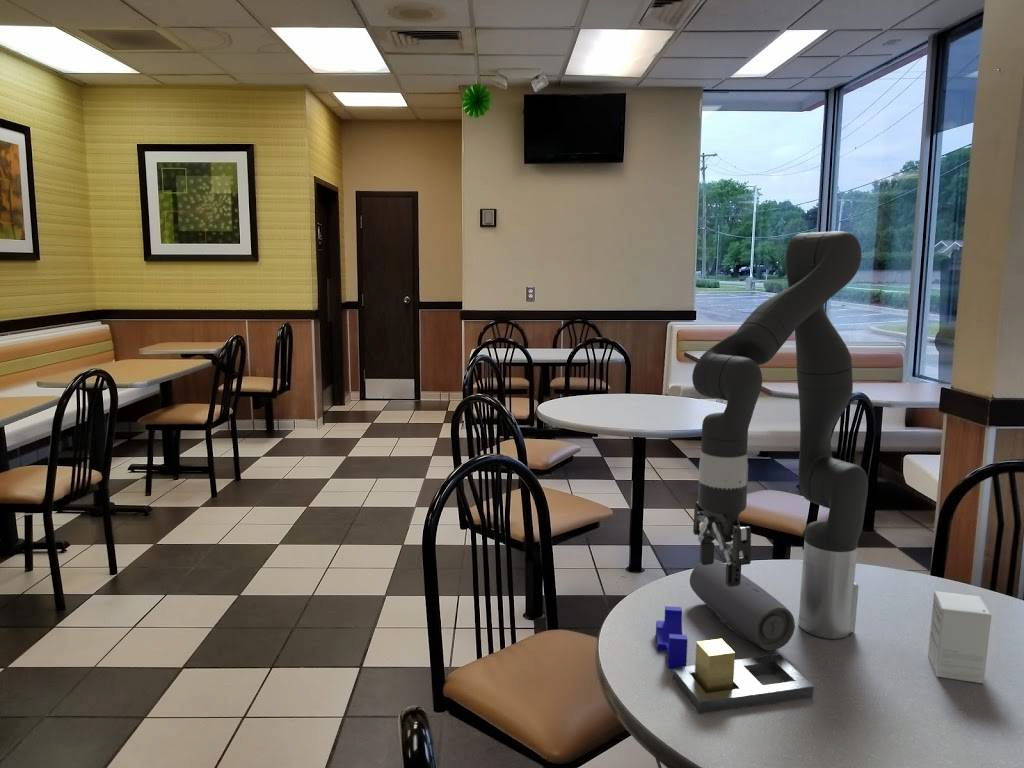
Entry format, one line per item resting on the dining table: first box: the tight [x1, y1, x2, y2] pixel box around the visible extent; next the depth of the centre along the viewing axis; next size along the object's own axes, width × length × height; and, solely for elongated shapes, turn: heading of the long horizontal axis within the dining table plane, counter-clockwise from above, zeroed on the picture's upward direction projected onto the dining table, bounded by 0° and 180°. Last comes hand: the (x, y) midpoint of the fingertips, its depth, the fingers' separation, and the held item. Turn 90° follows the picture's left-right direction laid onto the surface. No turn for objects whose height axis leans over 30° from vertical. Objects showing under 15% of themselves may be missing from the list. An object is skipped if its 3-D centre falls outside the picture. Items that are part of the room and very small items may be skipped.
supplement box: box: [927, 590, 992, 684], centre depth 129 cm, size 7×7×13 cm
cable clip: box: [655, 605, 688, 671], centre depth 136 cm, size 12×4×6 cm, turn 172°
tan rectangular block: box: [694, 638, 736, 693], centre depth 123 cm, size 4×4×8 cm
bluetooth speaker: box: [689, 558, 796, 651], centre depth 144 cm, size 23×9×10 cm, turn 17°
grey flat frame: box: [671, 654, 815, 715], centre depth 125 cm, size 20×10×2 cm, turn 103°
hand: (719, 574), depth 123 cm, fingers open, 8 cm apart
